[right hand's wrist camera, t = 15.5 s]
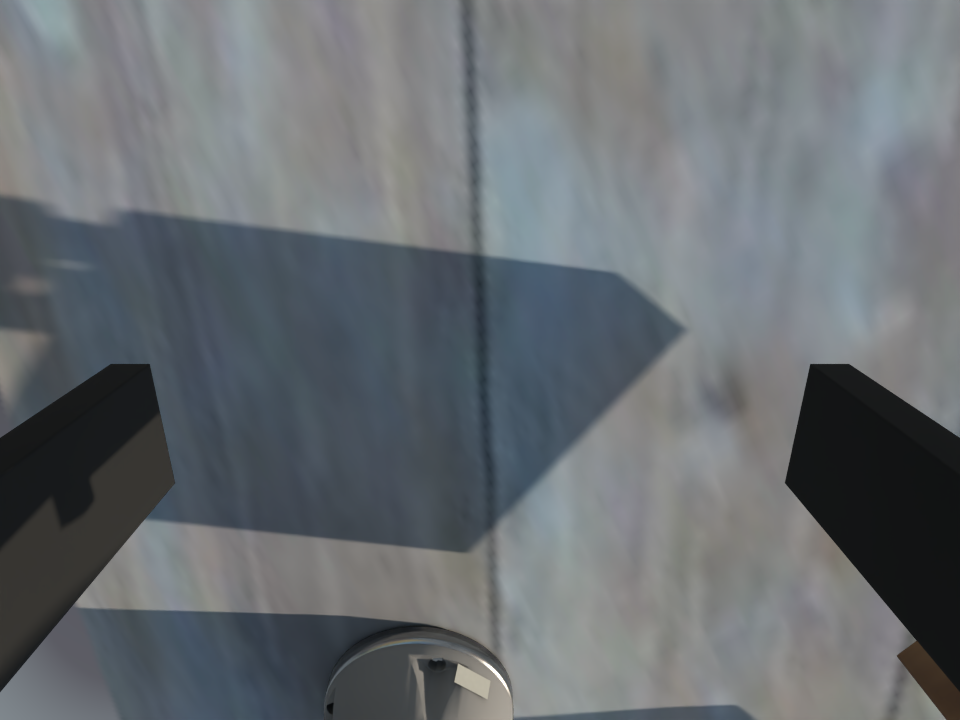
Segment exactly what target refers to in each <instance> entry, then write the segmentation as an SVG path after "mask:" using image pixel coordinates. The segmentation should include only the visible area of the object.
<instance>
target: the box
mask: <svg viewBox="0 0 960 720" xmlns="http://www.w3.org/2000/svg"><path fill="white" fill-rule="evenodd" d="M897 657H898V658H899V660H900V661H901V662H902V663H903V665H904V666H905V667H906V669H907V670H908V671H909V672H910V674H911V675H912V676H913V678H914V679H915V680H916V681H917V683H918V684H919V685H920V686H921V688H922V689H923V690H924V692H925V693H926V694H927V695H928V697H929V698H930V699H931V701H932V702H933V703H934V704H935V706H936V707H937V708H938V709H939V711H940V712H941V713H942V715H943V716H944V717H945V718H946V720H960V692H959V690H958V689H957V688H956V687H955V686H954V685H953V683H952V682H951V681H950V680H949V679H948V677H947V676H946V675H945V674H944V673H943V671H942V670H941V669H940V668H939V667H938V665H937V664H936V663H935V662H934V661H933V659H932V658H931V657H930V656H929V655H928V653H927V652H926V651H925V650H924V649H923V647H922V646H921V645H920V644H919V643H918V641H916V642H914V643H913V644H912V645H910V646H909V647H908V648H906V649H905V650H904V651H902V652H901V653H900V654H898V655H897Z"/></svg>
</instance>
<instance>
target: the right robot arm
mask: <svg viewBox="0 0 960 720" xmlns="http://www.w3.org/2000/svg"><path fill="white" fill-rule="evenodd" d="M174 484H175V481H174V476H173V471H172V467H171V462H170V457H169V453H168V448H167V443H166V439H165V434H164V429H163V425H162V420H161V415H160V411H159V406H158V401H157V396H156V392H155V387H154V382H153V378H152V373H151V368H150V364H110V365H109V366H107V367H106V368H104V369H103V370H101V371H100V372H98V373H97V374H95V375H94V376H92V377H91V378H89V379H88V380H86V381H85V382H83V383H82V384H80V385H79V386H77V387H76V388H74V389H73V390H71V391H70V392H68V393H67V394H65V395H64V396H62V397H61V398H59V399H58V400H56V401H55V402H53V403H52V404H50V405H49V406H47V407H46V408H44V409H43V410H41V411H40V412H38V413H37V414H35V415H34V416H32V417H31V418H29V419H28V420H26V421H25V422H23V423H22V424H20V425H19V426H17V427H16V428H14V429H13V430H11V431H10V432H8V433H7V434H5V435H4V436H2V437H1V438H0V692H1V690H2V689H3V688H4V687H5V686H6V685H7V683H8V682H9V681H10V680H11V678H12V677H13V676H14V675H15V674H16V673H17V671H18V670H19V669H20V668H21V667H22V665H23V664H24V663H25V662H26V661H27V659H28V658H29V657H30V656H31V655H32V653H33V652H34V651H35V650H36V649H37V647H38V646H39V645H40V644H41V643H42V641H43V640H44V639H45V638H46V637H47V635H48V634H49V633H50V632H51V631H52V629H53V628H54V627H55V626H56V625H57V623H58V622H59V621H60V620H61V619H62V618H63V616H64V615H65V614H66V613H67V612H68V610H69V609H70V608H71V607H72V606H73V604H74V603H75V602H76V601H77V600H78V598H79V597H80V596H81V595H82V594H83V592H84V591H85V590H86V589H87V588H88V586H89V585H90V584H91V583H92V582H93V580H94V579H95V578H96V577H97V576H98V574H99V573H100V572H101V571H102V570H103V568H104V567H105V566H106V565H107V564H108V562H109V561H110V560H111V559H112V558H113V557H114V555H115V554H116V553H117V552H118V551H119V549H120V548H121V547H122V546H123V545H124V543H125V542H126V541H127V540H128V539H129V537H130V536H131V535H132V534H133V533H134V531H135V530H136V529H137V528H138V527H139V525H140V524H141V523H142V522H143V521H144V519H145V518H146V517H147V516H148V515H149V513H150V512H151V511H152V510H153V509H154V507H155V506H156V505H157V504H158V503H159V501H160V500H161V499H162V498H163V497H164V496H165V494H166V493H167V492H168V491H169V490H170V488H171V487H172V486H173V485H174ZM785 484H786V485H787V486H788V487H789V488H790V490H791V491H792V492H793V493H794V494H795V496H796V497H797V498H798V499H799V500H800V501H801V503H802V504H803V505H804V506H805V507H806V509H807V510H808V511H809V512H810V513H811V515H812V516H813V517H814V518H815V519H816V521H817V522H818V523H819V524H820V525H821V527H822V528H823V529H824V530H825V531H826V533H827V534H828V535H829V536H830V537H831V539H832V540H833V541H834V542H835V543H836V545H837V546H838V547H839V548H840V549H841V551H842V552H843V553H844V554H845V555H846V557H847V558H848V559H849V560H850V561H851V562H852V564H853V565H854V566H855V567H856V568H857V570H858V571H859V572H860V573H861V574H862V576H863V577H864V578H865V579H866V580H867V582H868V583H869V584H870V585H871V586H872V588H873V589H874V590H875V591H876V592H877V594H878V595H879V596H880V597H881V598H882V600H883V601H884V602H885V603H886V604H887V606H888V607H889V608H890V609H891V610H892V612H893V613H894V614H895V615H896V616H897V618H898V619H899V620H900V621H901V622H902V623H903V625H904V626H905V627H906V628H907V629H908V631H909V632H910V633H911V634H912V635H913V637H914V638H915V639H916V640H917V641H918V643H919V644H920V645H921V646H922V647H923V649H924V650H925V651H926V652H927V653H928V655H929V656H930V657H931V658H932V659H933V661H934V662H935V663H936V664H937V665H938V667H939V668H940V669H941V670H942V671H943V673H944V674H945V675H946V676H947V677H948V679H949V680H950V681H951V682H952V683H953V685H954V686H955V687H956V688H957V689H958V690H959V692H960V438H959V437H958V436H956V435H955V434H953V433H952V432H950V431H949V430H947V429H946V428H944V427H943V426H941V425H940V424H938V423H937V422H935V421H934V420H932V419H931V418H929V417H928V416H926V415H925V414H923V413H922V412H920V411H919V410H917V409H916V408H914V407H913V406H911V405H910V404H908V403H907V402H905V401H904V400H902V399H901V398H899V397H898V396H896V395H895V394H893V393H892V392H890V391H889V390H887V389H886V388H884V387H883V386H881V385H880V384H878V383H877V382H875V381H874V380H872V379H871V378H869V377H868V376H866V375H865V374H863V373H862V372H860V371H859V370H857V369H856V368H854V367H853V366H851V365H850V364H810V368H809V373H808V378H807V382H806V387H805V392H804V396H803V401H802V406H801V411H800V415H799V420H798V425H797V429H796V434H795V439H794V443H793V448H792V453H791V457H790V462H789V467H788V471H787V476H786V481H785ZM513 713H514V712H513V695H512V686H511V682H510V679H509V676H508V674H507V672H506V670H505V668H504V667H503V665H502V664H501V663H500V661H499V660H498V659H497V658H496V657H495V656H494V655H493V654H492V653H491V652H490V651H489V650H488V649H486V648H485V647H484V646H482V645H481V644H479V643H478V642H476V641H474V640H472V639H470V638H468V637H466V636H464V635H461V634H458V633H455V632H452V631H448V630H444V629H439V628H433V627H402V628H395V629H390V630H386V631H383V632H379V633H377V634H374V635H372V636H369V637H367V638H365V639H363V640H362V641H360V642H358V643H357V644H355V645H354V646H353V647H351V648H350V649H349V650H348V651H347V652H346V653H345V654H344V655H343V656H342V657H341V658H340V660H339V661H338V662H337V664H336V666H335V667H334V669H333V672H332V674H331V677H330V680H329V684H328V688H327V692H326V695H325V700H324V720H513Z"/></svg>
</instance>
